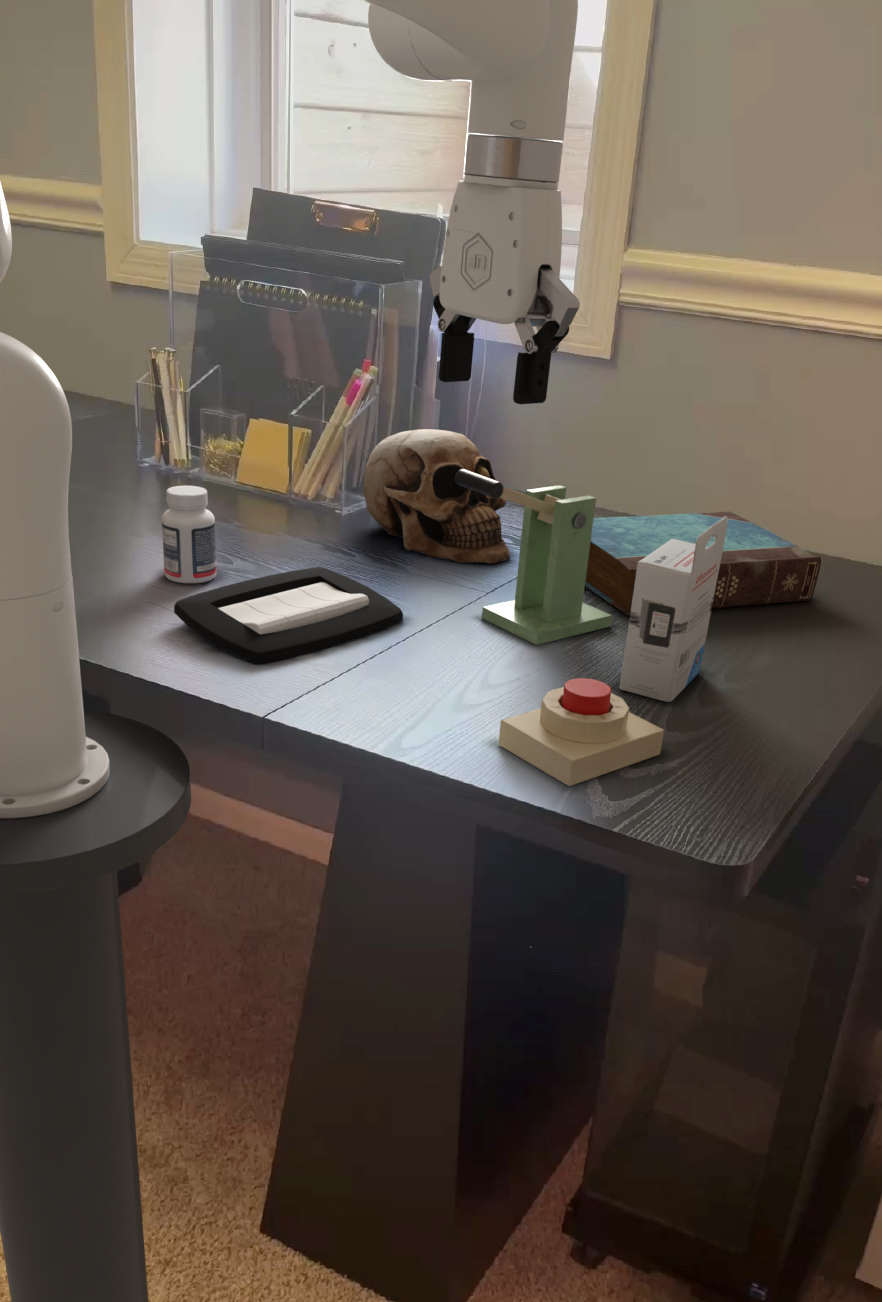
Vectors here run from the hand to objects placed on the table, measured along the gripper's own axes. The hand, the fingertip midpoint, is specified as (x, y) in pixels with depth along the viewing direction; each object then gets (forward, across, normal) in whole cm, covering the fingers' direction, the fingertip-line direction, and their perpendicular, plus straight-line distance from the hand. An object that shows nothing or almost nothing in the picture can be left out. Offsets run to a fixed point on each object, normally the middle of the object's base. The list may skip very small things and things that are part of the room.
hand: (490, 391), depth 101 cm
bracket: (+22, 0, +10) cm, 25 cm away
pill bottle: (+23, -28, -14) cm, 39 cm away
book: (+22, -2, +32) cm, 39 cm away
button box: (+23, +22, -7) cm, 32 cm away
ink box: (+23, +16, +9) cm, 29 cm away
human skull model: (+23, -26, +17) cm, 39 cm away
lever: (+11, 0, +5) cm, 12 cm away
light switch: (+23, -12, -12) cm, 28 cm away
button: (+19, +22, -7) cm, 30 cm away
